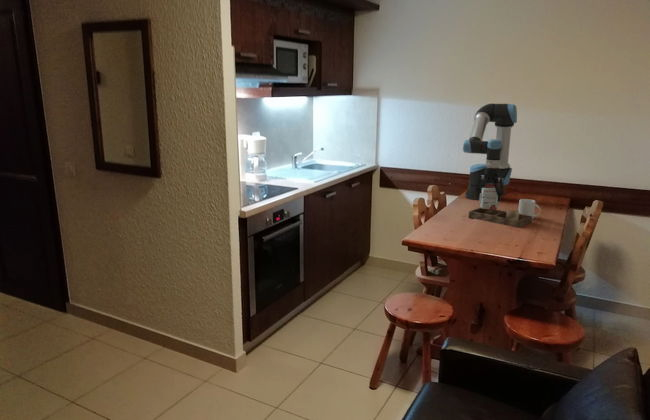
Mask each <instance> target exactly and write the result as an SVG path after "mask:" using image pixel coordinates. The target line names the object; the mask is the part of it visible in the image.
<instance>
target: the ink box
mask: <svg viewBox="0 0 650 420" xmlns="http://www.w3.org/2000/svg"><path fill="white" fill-rule="evenodd" d="M496 196H498V195H497V192H496V189H495V187H486V188H482V193H481V204H479V205H480V206H479V208H480V207H481V208H482V209H497V210H498V207H497V208H496V207H495V205H496Z"/></svg>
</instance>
